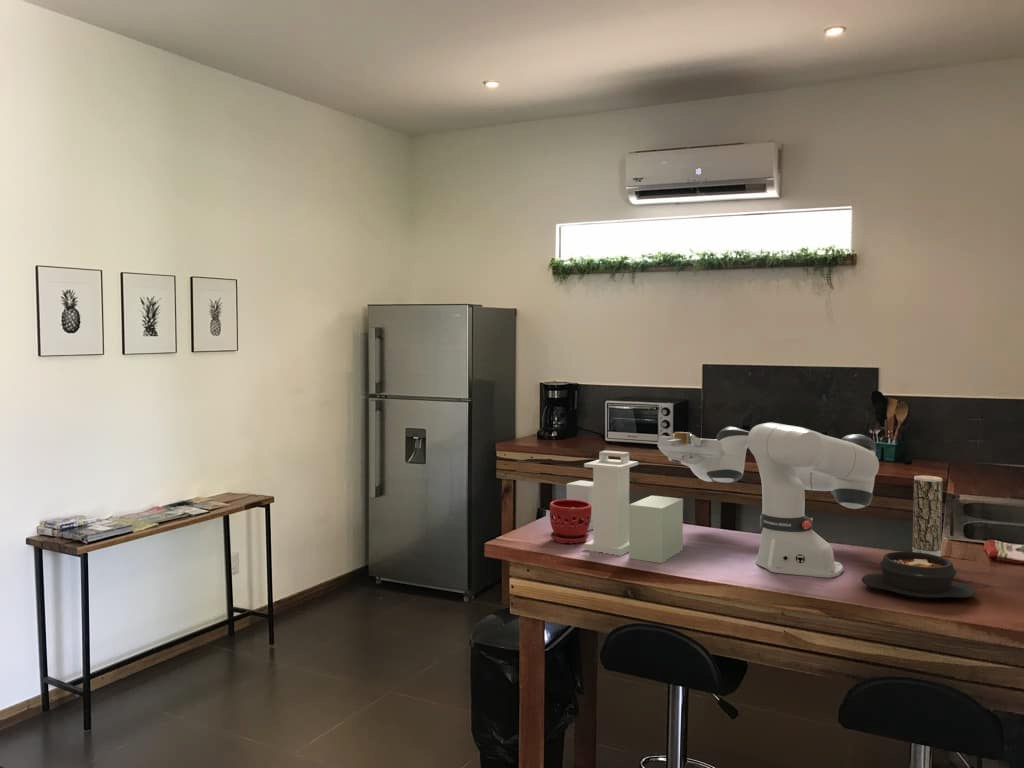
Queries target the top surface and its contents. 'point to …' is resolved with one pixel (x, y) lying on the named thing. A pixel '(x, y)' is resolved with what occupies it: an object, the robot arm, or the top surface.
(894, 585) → the casserole
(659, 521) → the pale green box
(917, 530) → the bark pattern canister
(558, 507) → the plant pot
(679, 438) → the brown block with handle
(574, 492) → the supplement box
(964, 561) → the top surface
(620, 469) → the tall stand
